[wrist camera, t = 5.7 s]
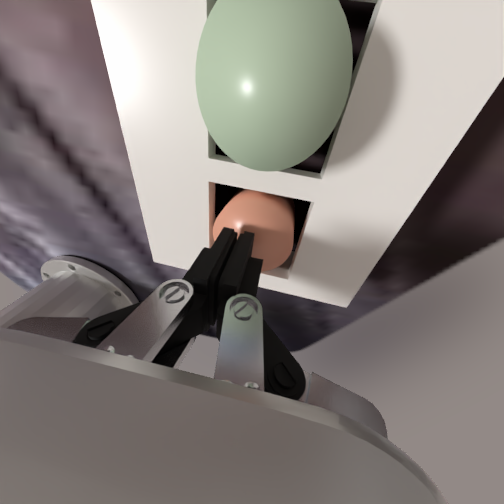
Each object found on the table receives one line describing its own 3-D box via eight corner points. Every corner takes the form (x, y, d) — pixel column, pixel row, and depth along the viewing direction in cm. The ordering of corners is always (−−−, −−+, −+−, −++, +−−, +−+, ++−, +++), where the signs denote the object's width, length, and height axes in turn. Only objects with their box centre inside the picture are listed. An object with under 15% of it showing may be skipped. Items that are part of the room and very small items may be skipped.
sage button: (313, 159, 10) (319, 182, 7) (228, 144, 11) (198, 159, 7) (352, 29, 7) (388, -28, 4) (234, 14, 8) (190, -47, 5)
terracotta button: (286, 243, 15) (282, 278, 12) (230, 231, 16) (212, 262, 13) (303, 185, 13) (304, 212, 9) (234, 172, 13) (212, 193, 10)
